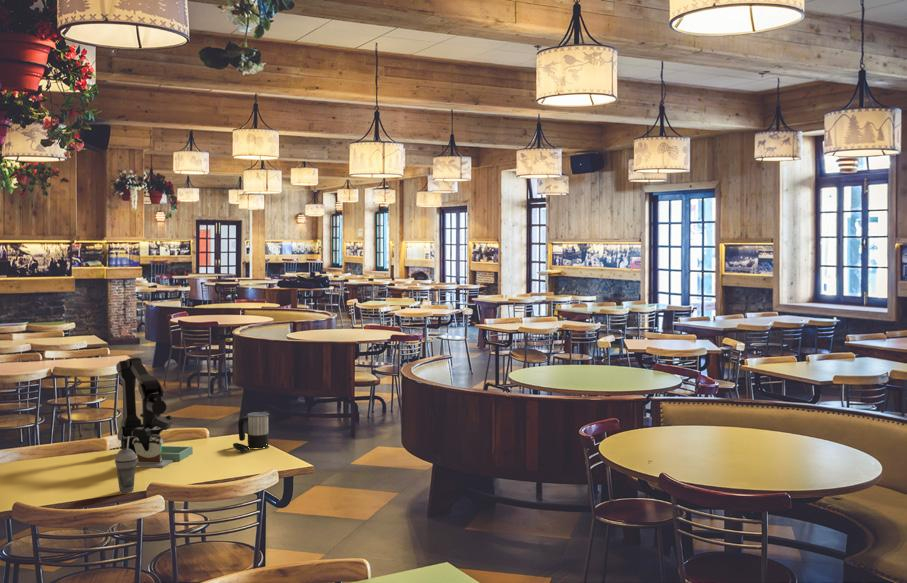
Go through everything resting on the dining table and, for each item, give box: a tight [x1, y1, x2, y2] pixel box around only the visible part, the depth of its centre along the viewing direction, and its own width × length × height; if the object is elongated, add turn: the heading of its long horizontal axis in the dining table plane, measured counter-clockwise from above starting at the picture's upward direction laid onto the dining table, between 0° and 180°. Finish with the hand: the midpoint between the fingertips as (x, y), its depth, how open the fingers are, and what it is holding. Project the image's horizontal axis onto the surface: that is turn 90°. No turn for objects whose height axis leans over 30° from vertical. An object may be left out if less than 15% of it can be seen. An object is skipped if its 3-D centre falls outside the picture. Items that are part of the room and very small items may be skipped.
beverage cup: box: [114, 436, 138, 494], centre depth 289 cm, size 7×7×20 cm
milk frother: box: [232, 411, 270, 453], centre depth 350 cm, size 14×16×15 cm
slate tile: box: [135, 459, 173, 468], centre depth 326 cm, size 14×8×1 cm, turn 83°
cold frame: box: [162, 445, 194, 462], centre depth 338 cm, size 18×12×3 cm, turn 83°
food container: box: [132, 434, 164, 463], centre depth 326 cm, size 12×6×10 cm, turn 83°
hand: (150, 449), depth 326 cm, fingers closed on food container, 6 cm apart
